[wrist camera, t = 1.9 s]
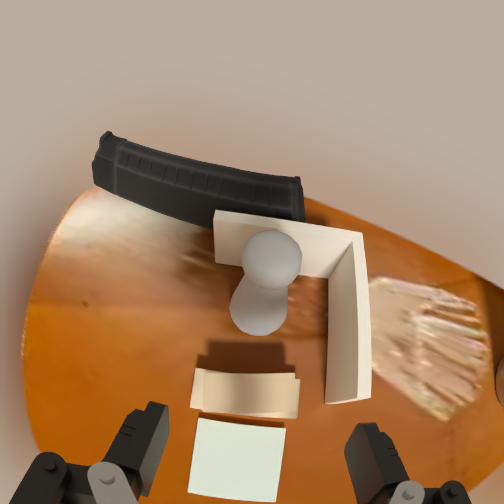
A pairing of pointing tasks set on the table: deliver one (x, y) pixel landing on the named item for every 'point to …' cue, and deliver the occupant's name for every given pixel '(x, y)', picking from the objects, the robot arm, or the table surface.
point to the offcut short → (249, 392)
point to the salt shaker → (265, 282)
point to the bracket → (339, 291)
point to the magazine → (192, 184)
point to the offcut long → (198, 404)
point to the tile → (236, 461)
